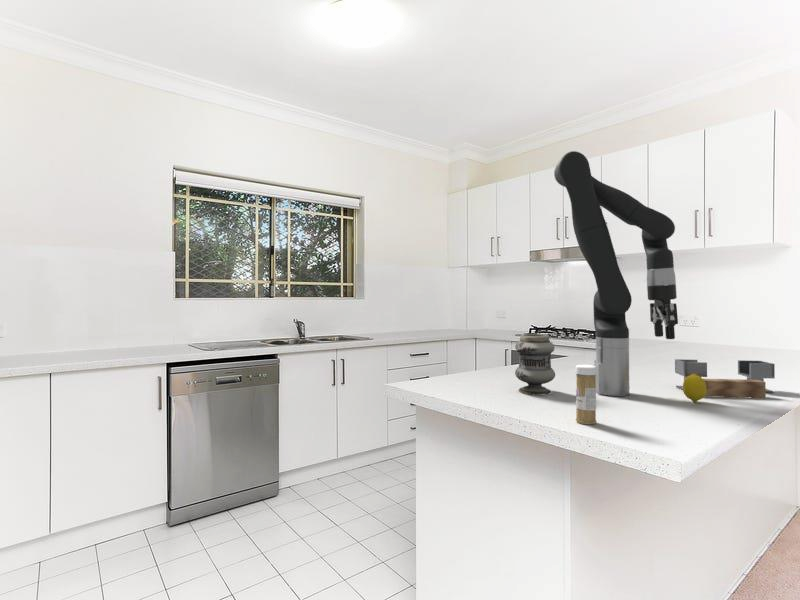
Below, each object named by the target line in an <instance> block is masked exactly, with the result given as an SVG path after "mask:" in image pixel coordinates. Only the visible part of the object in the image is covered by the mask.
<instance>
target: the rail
mask: <svg viewBox="0 0 800 600" xmlns="http://www.w3.org/2000/svg"><path fill="white" fill-rule="evenodd" d="M702 379H703V380H704V381H705V384H706V395H705V396H724V397H723V398H731V397H751V398H750V399H766V397H767V395H766V394H767V393H766V389H767V388H766V386H767V385H766V381H765V380H764V381H760V380H747V379H734V378H702ZM684 380H685V378H684V377H683V381H684Z"/></svg>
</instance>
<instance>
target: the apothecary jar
mask: <svg viewBox="0 0 800 600" xmlns="http://www.w3.org/2000/svg"><path fill="white" fill-rule="evenodd" d="M549 337H550V336H549V335H548V334H546V333H523V334H521V335H520V339H519V341H517V342H516V343H515V350H516V352H518V354H519V356H518V357H519V359H518V367H517V368H516V369H515V372H514V375H515V377H516V378H517V379H518V380H519V381H521V382H522V383H526V384H527V385H523V387H520V388H518V392H520V393H521V392H523V393H522V394H525V393H527V394H526V395H536V394H540V395H539V396H542V395H541V394H547V395H550V394H549V393H551V394H552V390H551V389H549V388H547V387H545V386H542V385H544V384H547V383H550V382H552V381H553V380H554V379H555V377H556V372H555V370H554V369H553V368H552V364H551V363H552V361H551V358H552V357H551V356H552V355H551V354H552V353H553V352H554V351H555V345H554V343H553V342H551V341H550V338H549Z"/></svg>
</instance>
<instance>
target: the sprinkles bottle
mask: <svg viewBox="0 0 800 600" xmlns="http://www.w3.org/2000/svg"><path fill="white" fill-rule="evenodd" d="M575 374H576V382H575V383H576V390H575V400H576V401H575V402H576V403H575V407H576V409H575V410H576V413H575V414H576V417H575V422H576V423H579V424H580V425H595V424H597V420H596V418H597V416H596V415H597V412H596V411H597V392H596V366H594V364H593V365H591V364H577V365H576V366H575Z"/></svg>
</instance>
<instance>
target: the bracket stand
mask: <svg viewBox="0 0 800 600" xmlns="http://www.w3.org/2000/svg"><path fill="white" fill-rule="evenodd" d="M775 368H776V367H775V363H771V362H767V361H763V360H746V359H745V360H740V359H739V360H737V375H740V376H744V377H746V380H760V381H764V382H765V380H764V379H773V380H774V379H776V378H775V376H776V375H775ZM674 372H675V374H677V375H680V376H682V377H683V379H684V378H686V377H688V376H690V375H692V374H696V375H698V376H700V377H701V378H707V377H708V362H707V361H706V362H705V361H704V362H702V361H700V362H699V361H698V359H683V358H681V359H678V358H677V359H674ZM676 387H677V388H676ZM675 388H676V389H678V388H679V390H680V389H681V391H682V390H683V385H675ZM766 394H774V391H773V390H771V389H768V388H766Z"/></svg>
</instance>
